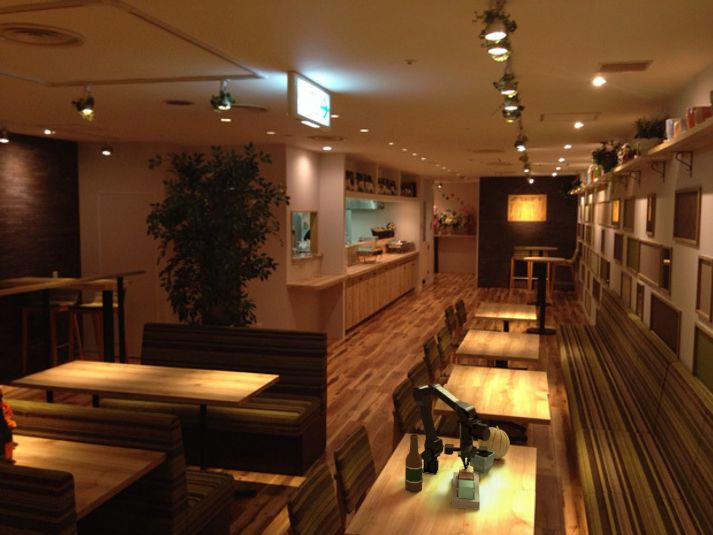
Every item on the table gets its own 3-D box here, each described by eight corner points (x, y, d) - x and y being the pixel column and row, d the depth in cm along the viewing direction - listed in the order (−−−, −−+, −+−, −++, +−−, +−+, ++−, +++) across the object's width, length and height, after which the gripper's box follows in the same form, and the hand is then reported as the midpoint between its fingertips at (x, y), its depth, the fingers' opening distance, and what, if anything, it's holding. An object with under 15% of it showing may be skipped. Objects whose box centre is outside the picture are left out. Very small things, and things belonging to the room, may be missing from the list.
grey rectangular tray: (451, 507, 255) (452, 500, 255) (453, 478, 281) (453, 471, 280) (479, 509, 253) (479, 502, 253) (478, 480, 279) (478, 473, 278)
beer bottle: (425, 486, 273) (425, 433, 270) (419, 494, 266) (419, 440, 263) (408, 483, 276) (408, 430, 273) (401, 491, 269) (402, 437, 266)
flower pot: (494, 471, 287) (495, 452, 286) (484, 477, 281) (485, 458, 280) (478, 465, 293) (478, 447, 292) (467, 471, 287) (468, 452, 286)
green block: (458, 498, 256) (458, 486, 256) (458, 491, 262) (458, 479, 262) (473, 499, 255) (473, 487, 255) (473, 492, 261) (473, 480, 261)
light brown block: (458, 482, 272) (458, 471, 271) (458, 476, 278) (459, 465, 277) (472, 483, 271) (473, 472, 270) (472, 477, 277) (473, 466, 276)
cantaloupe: (474, 461, 298) (475, 430, 296) (481, 449, 311) (481, 420, 310) (506, 466, 292) (507, 435, 290) (511, 454, 306) (512, 424, 304)
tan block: (458, 488, 264) (458, 477, 264) (458, 482, 270) (458, 471, 269) (473, 490, 263) (473, 478, 262) (473, 483, 269) (473, 472, 268)
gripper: (444, 440, 266) (443, 475, 268) (489, 443, 263) (488, 479, 265) (444, 430, 277) (444, 464, 279) (488, 433, 273) (487, 467, 275)
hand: (465, 469), depth 274 cm, fingers closed, pressing on light brown block
